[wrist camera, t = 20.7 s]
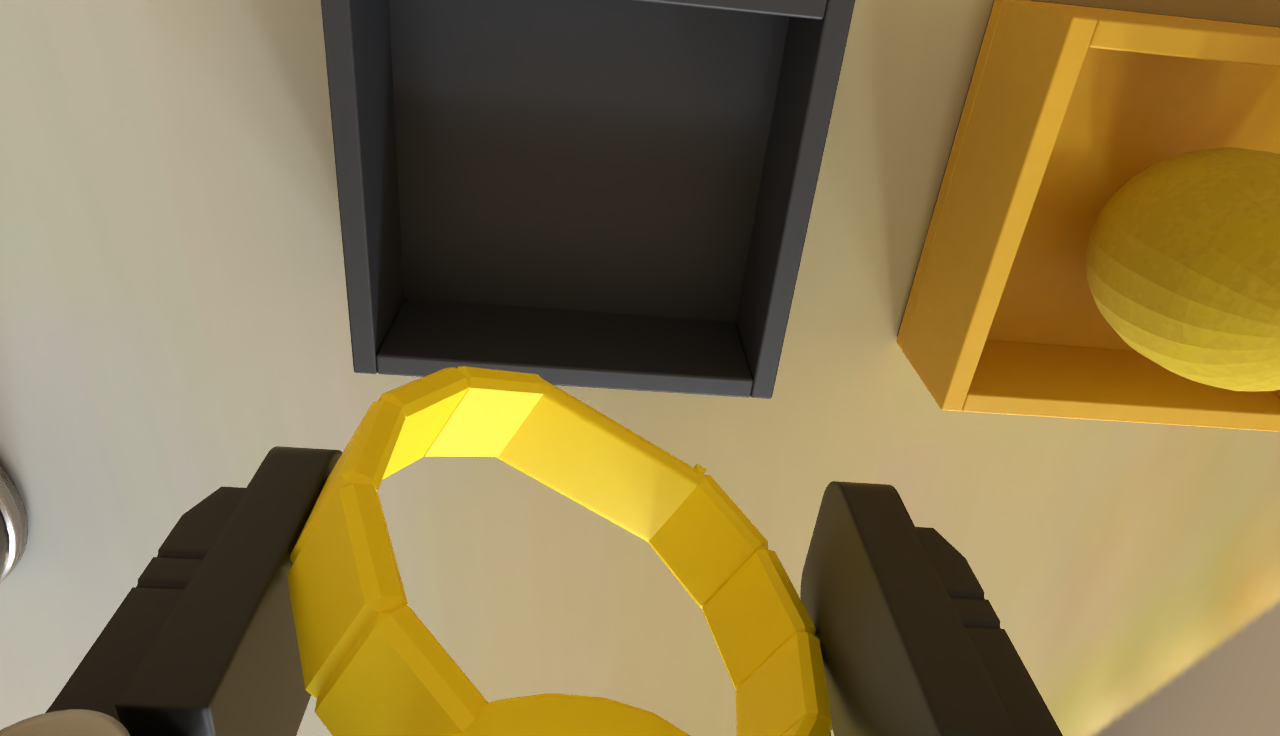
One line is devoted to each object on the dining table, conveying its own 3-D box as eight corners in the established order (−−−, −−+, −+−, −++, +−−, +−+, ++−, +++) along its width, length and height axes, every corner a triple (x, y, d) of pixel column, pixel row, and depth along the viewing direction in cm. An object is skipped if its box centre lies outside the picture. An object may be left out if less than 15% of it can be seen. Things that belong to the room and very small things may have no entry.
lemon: (1080, 104, 22) (1300, 197, 15) (1266, 129, 22) (1562, 231, 16) (1008, 289, 25) (1165, 441, 18) (1175, 308, 25) (1392, 462, 18)
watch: (813, 472, 12) (974, 913, 7) (701, 590, 13) (766, 1047, 8) (443, 263, 10) (271, 649, 5) (349, 422, 11) (127, 873, 6)
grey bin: (389, 305, 25) (353, 373, 21) (366, -71, 20) (314, -65, 16) (748, 331, 26) (772, 400, 22) (814, -23, 21) (857, -8, 17)
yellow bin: (895, 341, 26) (941, 411, 23) (994, -4, 21) (1073, 15, 18) (1220, 364, 27) (1313, 434, 23) (1390, 39, 22) (1541, 65, 18)
